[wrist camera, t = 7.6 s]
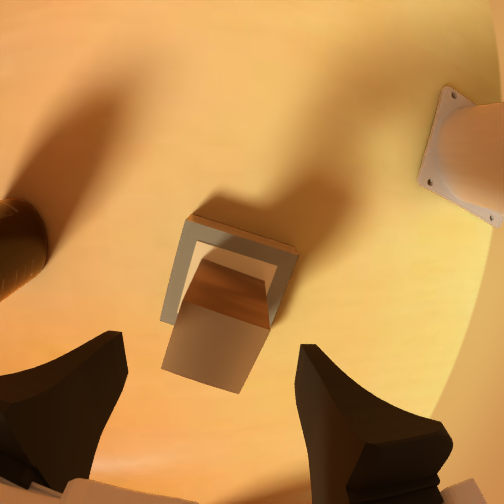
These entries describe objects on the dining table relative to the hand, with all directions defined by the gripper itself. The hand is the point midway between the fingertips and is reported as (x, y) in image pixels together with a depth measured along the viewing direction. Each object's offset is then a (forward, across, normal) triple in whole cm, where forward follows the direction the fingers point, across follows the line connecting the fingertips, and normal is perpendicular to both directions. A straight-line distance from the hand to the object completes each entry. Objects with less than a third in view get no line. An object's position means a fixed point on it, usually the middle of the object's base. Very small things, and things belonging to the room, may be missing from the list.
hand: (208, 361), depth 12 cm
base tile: (+10, 0, 0) cm, 10 cm away
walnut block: (+8, 0, +1) cm, 8 cm away
